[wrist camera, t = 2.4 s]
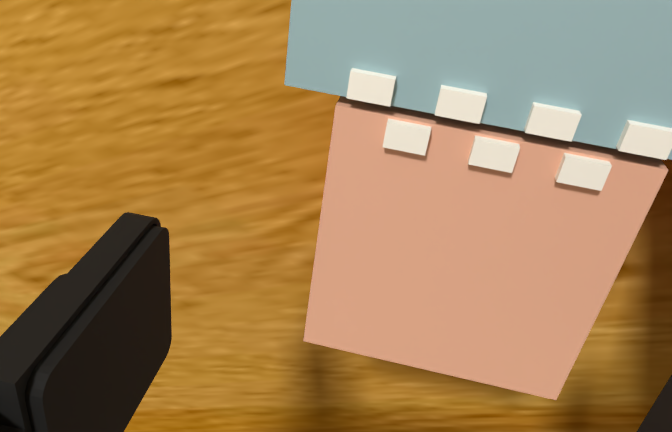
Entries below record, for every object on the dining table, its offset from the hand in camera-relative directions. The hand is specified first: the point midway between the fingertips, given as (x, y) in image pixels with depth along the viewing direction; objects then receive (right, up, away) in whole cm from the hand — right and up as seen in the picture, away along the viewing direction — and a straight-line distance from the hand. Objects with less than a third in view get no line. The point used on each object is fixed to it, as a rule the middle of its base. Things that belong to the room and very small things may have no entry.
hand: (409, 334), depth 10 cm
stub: (+2, +4, +7) cm, 9 cm away
